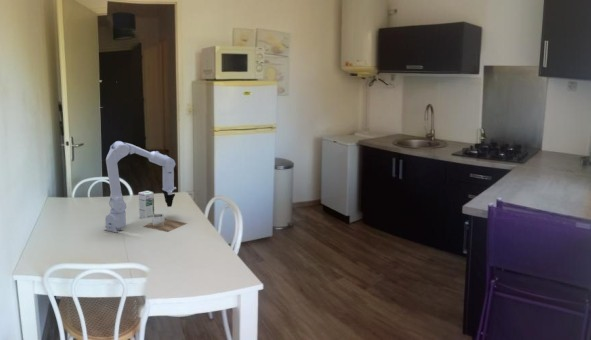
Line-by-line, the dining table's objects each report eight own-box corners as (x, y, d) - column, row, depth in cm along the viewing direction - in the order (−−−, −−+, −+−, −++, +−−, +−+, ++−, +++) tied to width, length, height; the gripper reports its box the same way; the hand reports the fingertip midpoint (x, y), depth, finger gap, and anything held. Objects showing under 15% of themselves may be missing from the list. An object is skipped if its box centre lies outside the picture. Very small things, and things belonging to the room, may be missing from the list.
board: (168, 234, 238) (167, 231, 238) (142, 229, 244) (142, 226, 244) (187, 226, 253) (187, 223, 252) (163, 221, 259) (163, 218, 259)
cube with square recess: (164, 226, 246) (164, 216, 245) (153, 227, 244) (153, 217, 243) (163, 222, 251) (163, 213, 250) (152, 223, 249) (152, 214, 248)
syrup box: (145, 220, 259) (145, 194, 256) (139, 217, 263) (138, 192, 260) (154, 217, 264) (154, 192, 261) (147, 215, 267) (147, 190, 264)
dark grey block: (161, 225, 247) (161, 216, 246) (155, 226, 246) (155, 216, 245) (160, 223, 249) (160, 214, 248) (155, 224, 248) (154, 215, 247)
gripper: (177, 182, 249) (178, 207, 251) (174, 176, 262) (174, 200, 265) (163, 183, 246) (164, 208, 249) (160, 176, 259) (161, 201, 262)
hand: (168, 204), depth 257 cm, fingers open, 7 cm apart
